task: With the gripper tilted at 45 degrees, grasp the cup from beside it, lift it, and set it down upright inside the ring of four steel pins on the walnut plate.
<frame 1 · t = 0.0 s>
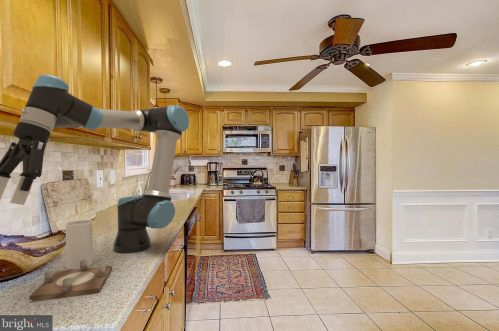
hand: (4, 202, 67), 28 cm above the countertop, tool tilted 20°, fingers open, 13 cm apart
cup: (79, 265, 97), on the countertop
locator plate: (75, 283, 82), on the countertop
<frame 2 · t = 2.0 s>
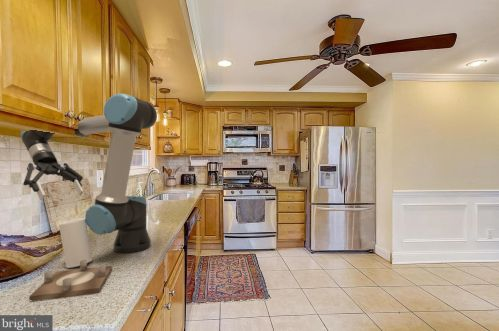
hand: (63, 195, 102), 25 cm above the countertop, tool tilted 45°, fingers open, 13 cm apart
cup: (79, 263, 97), on the countertop, touching arm
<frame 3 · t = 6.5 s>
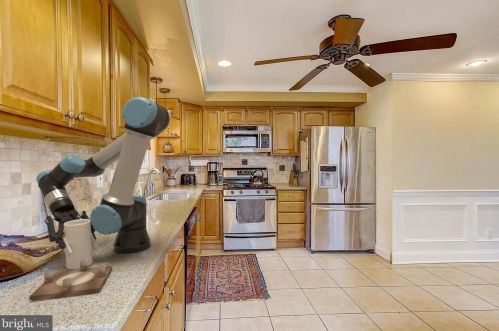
hand: (83, 251, 95), 6 cm above the countertop, tool tilted 45°, fingers closed on cup, 8 cm apart
cup: (79, 264, 97), on the countertop, touching arm, gripper
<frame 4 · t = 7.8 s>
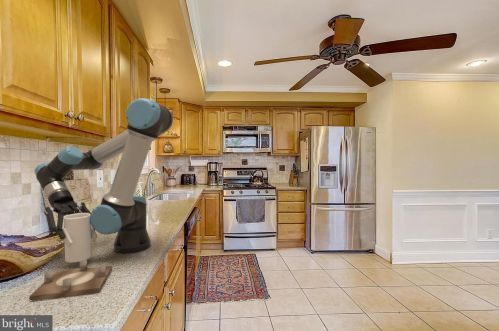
hand: (83, 241, 95), 9 cm above the countertop, tool tilted 45°, fingers closed on cup, 8 cm apart
cup: (78, 258, 97), point 2 cm above the countertop, touching gripper
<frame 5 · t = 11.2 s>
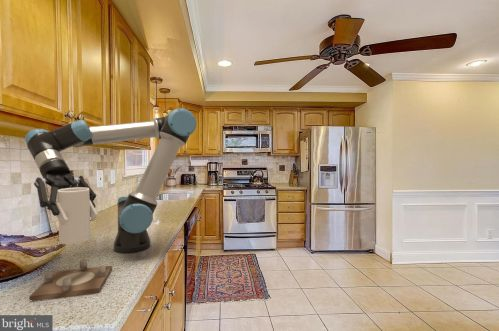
hand: (80, 219, 80), 21 cm above the countertop, tool tilted 45°, fingers closed on cup, 8 cm apart
cup: (75, 240, 82), point 14 cm above the countertop, touching gripper
when the fingers open (8 cm above the countertop, at t = 14.3 s): cup stays where it is, resting on locator plate.
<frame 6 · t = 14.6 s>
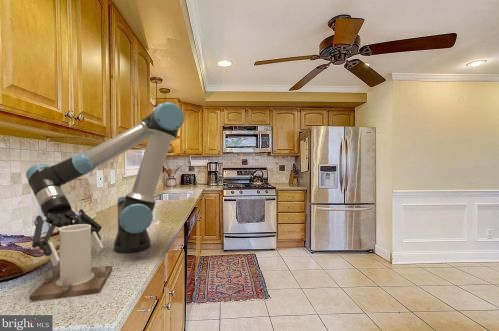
hand: (80, 256, 81), 9 cm above the countertop, tool tilted 45°, fingers open, 12 cm apart
cup: (76, 278, 82), point 2 cm above the countertop, touching locator plate
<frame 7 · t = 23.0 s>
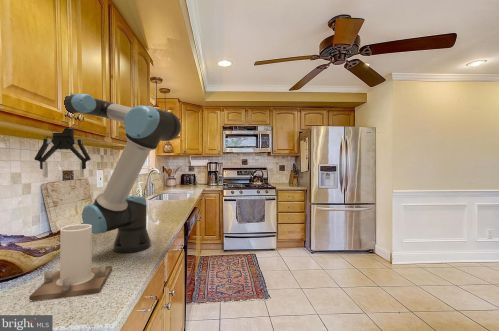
hand: (63, 177, 113), 32 cm above the countertop, tool pointing down, fingers open, 13 cm apart
nothing on the countertop moved.
at the end: cup 0.4 cm off-centre on the locator plate, point 1.6 cm above the locator plate's base; cup tilted 1°; the gripper is holding nothing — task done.
